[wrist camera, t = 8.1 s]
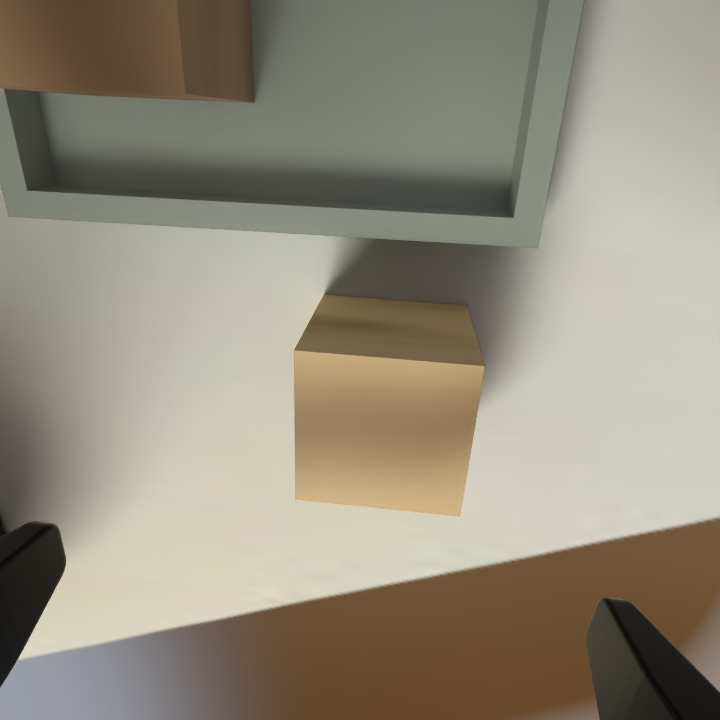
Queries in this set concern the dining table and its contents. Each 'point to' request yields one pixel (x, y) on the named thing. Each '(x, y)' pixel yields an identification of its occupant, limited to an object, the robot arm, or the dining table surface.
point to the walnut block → (129, 48)
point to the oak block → (386, 404)
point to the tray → (324, 129)
